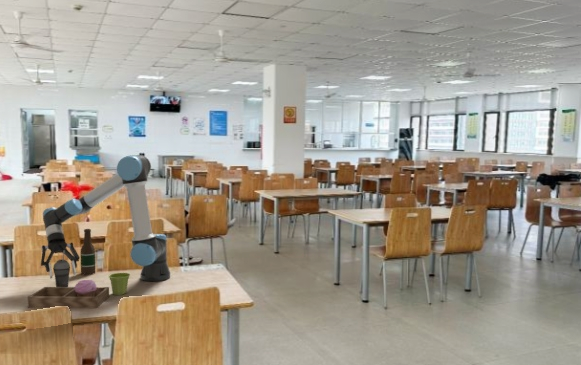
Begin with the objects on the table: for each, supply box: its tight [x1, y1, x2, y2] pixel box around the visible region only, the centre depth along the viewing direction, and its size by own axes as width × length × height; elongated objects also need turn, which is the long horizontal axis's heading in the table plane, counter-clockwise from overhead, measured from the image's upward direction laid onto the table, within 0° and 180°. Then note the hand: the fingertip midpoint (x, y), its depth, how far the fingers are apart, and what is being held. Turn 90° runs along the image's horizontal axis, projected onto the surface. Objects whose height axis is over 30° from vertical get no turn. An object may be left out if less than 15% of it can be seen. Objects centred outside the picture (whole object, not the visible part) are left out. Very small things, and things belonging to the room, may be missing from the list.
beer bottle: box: [80, 228, 96, 276], centre depth 263 cm, size 8×8×24 cm
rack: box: [27, 286, 110, 309], centre depth 216 cm, size 29×15×4 cm, turn 91°
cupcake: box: [74, 279, 98, 297], centre depth 216 cm, size 9×9×10 cm
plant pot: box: [108, 272, 131, 296], centre depth 229 cm, size 9×9×9 cm
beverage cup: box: [52, 250, 71, 287], centre depth 229 cm, size 7×7×20 cm
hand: (63, 275), depth 226 cm, fingers open, 9 cm apart
